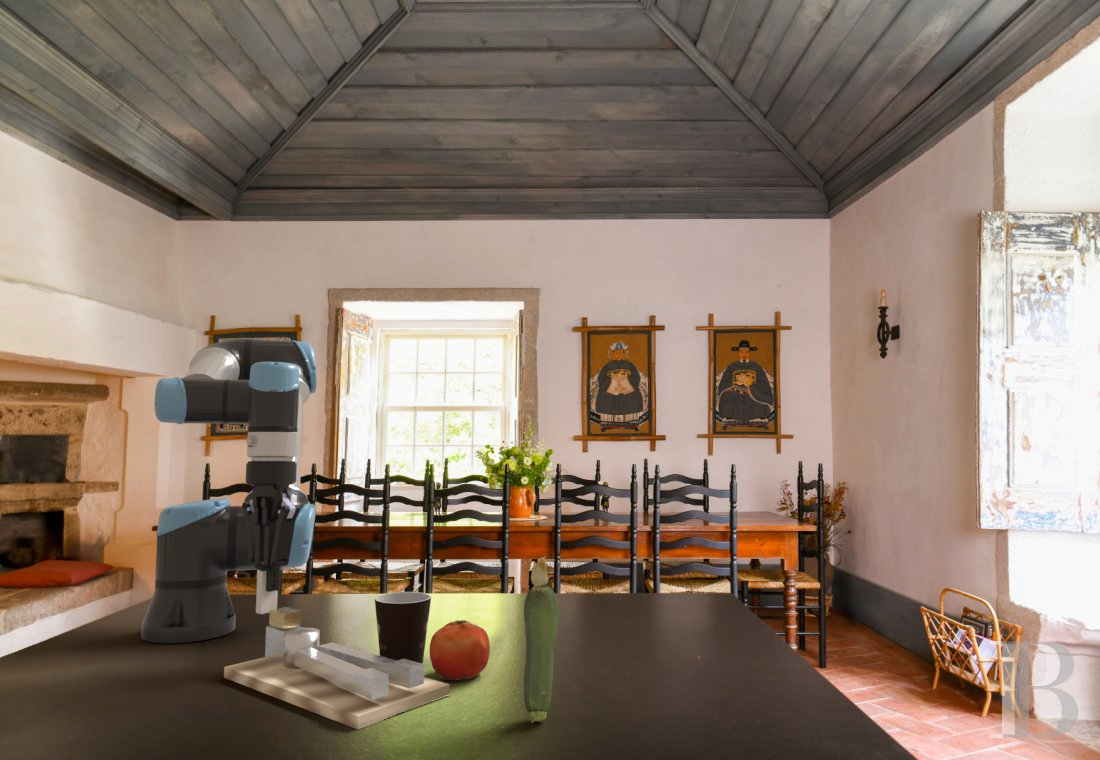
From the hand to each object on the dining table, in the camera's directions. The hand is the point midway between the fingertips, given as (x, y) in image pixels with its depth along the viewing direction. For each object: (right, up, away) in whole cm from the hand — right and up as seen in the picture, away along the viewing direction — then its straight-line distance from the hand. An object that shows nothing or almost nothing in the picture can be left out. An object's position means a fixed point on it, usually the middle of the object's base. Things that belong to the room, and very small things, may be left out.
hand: (266, 611), depth 115 cm
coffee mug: (+22, -8, 0) cm, 23 cm away
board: (+14, -7, -12) cm, 19 cm away
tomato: (+31, -7, -7) cm, 33 cm away
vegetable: (+43, -6, -24) cm, 50 cm away
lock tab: (+4, -1, -3) cm, 5 cm away
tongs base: (+14, -5, -11) cm, 19 cm away
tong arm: (+16, -4, -17) cm, 23 cm away
